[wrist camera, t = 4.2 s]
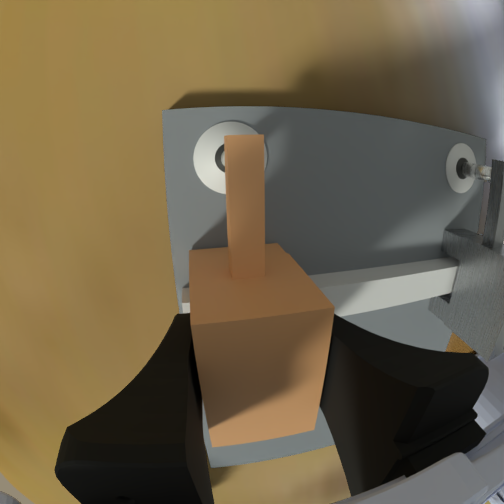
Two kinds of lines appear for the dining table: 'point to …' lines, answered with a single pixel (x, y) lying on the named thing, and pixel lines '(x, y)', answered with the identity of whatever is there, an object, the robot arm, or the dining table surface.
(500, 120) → the dining table surface
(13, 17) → the dining table surface
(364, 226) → the board
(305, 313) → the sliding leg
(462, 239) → the fixed leg
